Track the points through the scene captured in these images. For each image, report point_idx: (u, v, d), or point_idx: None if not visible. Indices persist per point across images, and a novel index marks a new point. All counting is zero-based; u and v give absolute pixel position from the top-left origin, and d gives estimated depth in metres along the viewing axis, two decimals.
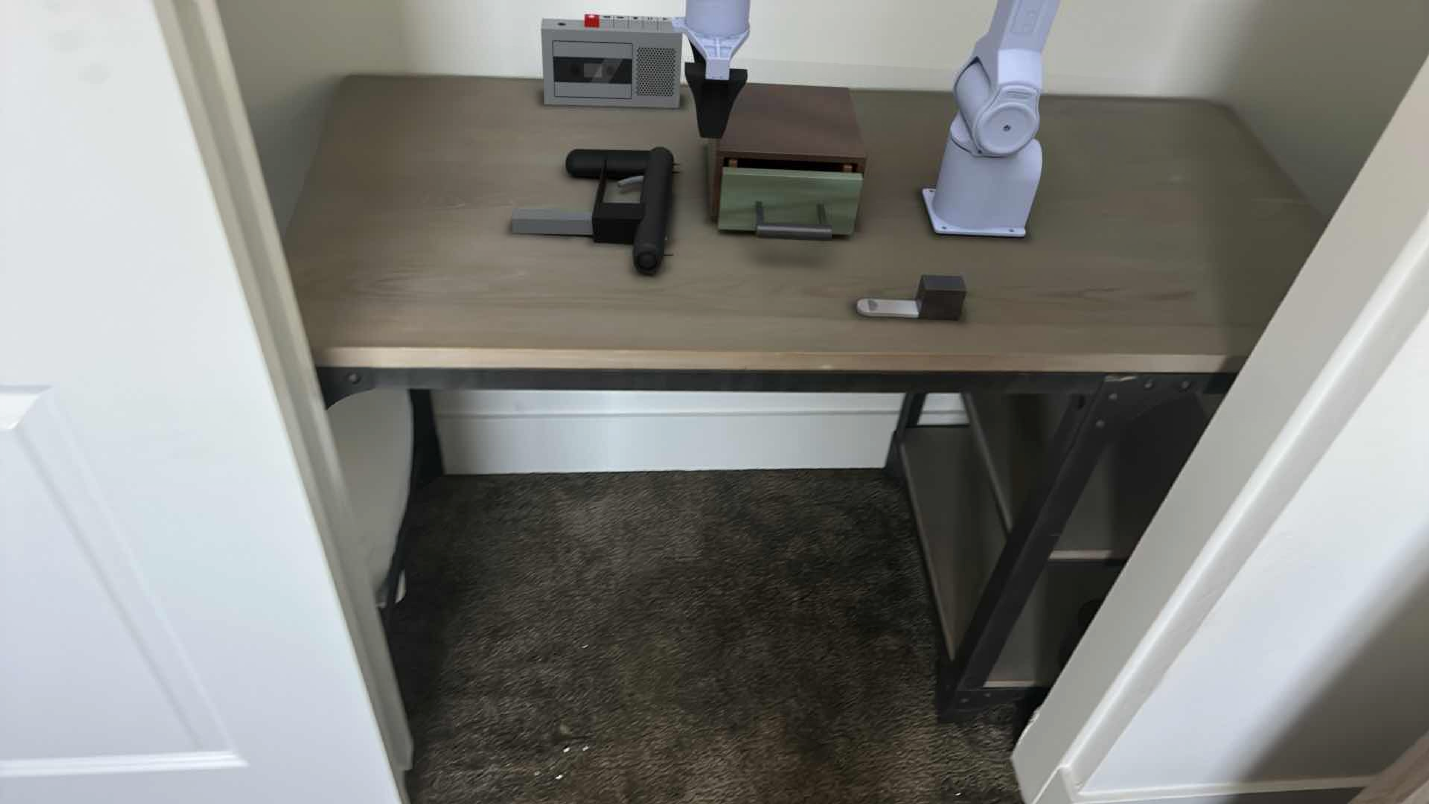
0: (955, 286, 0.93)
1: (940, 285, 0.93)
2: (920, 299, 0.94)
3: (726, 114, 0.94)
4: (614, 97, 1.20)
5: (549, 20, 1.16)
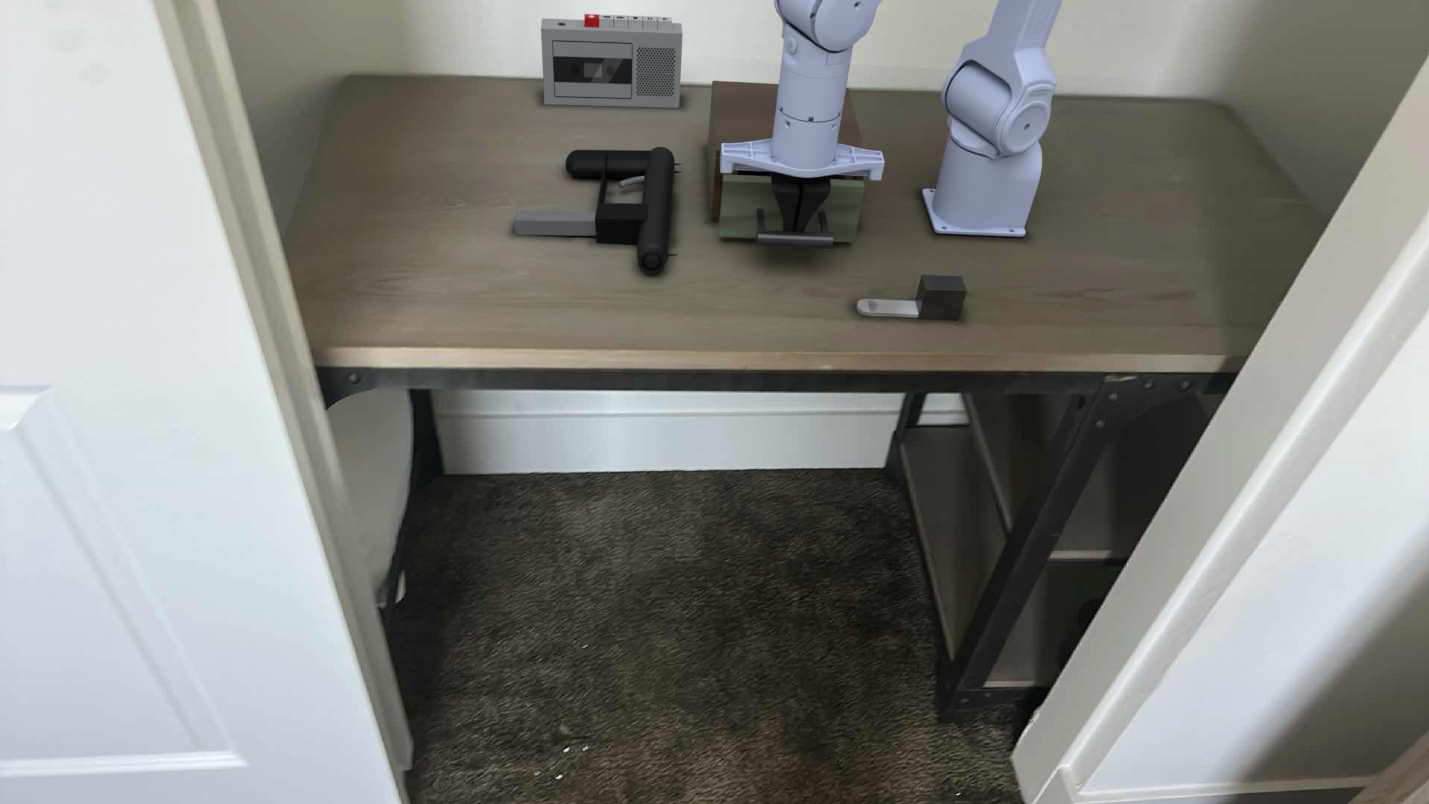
0: (955, 286, 0.93)
1: (940, 285, 0.93)
2: (920, 299, 0.94)
3: (783, 221, 0.95)
4: (614, 97, 1.20)
5: (548, 20, 1.16)
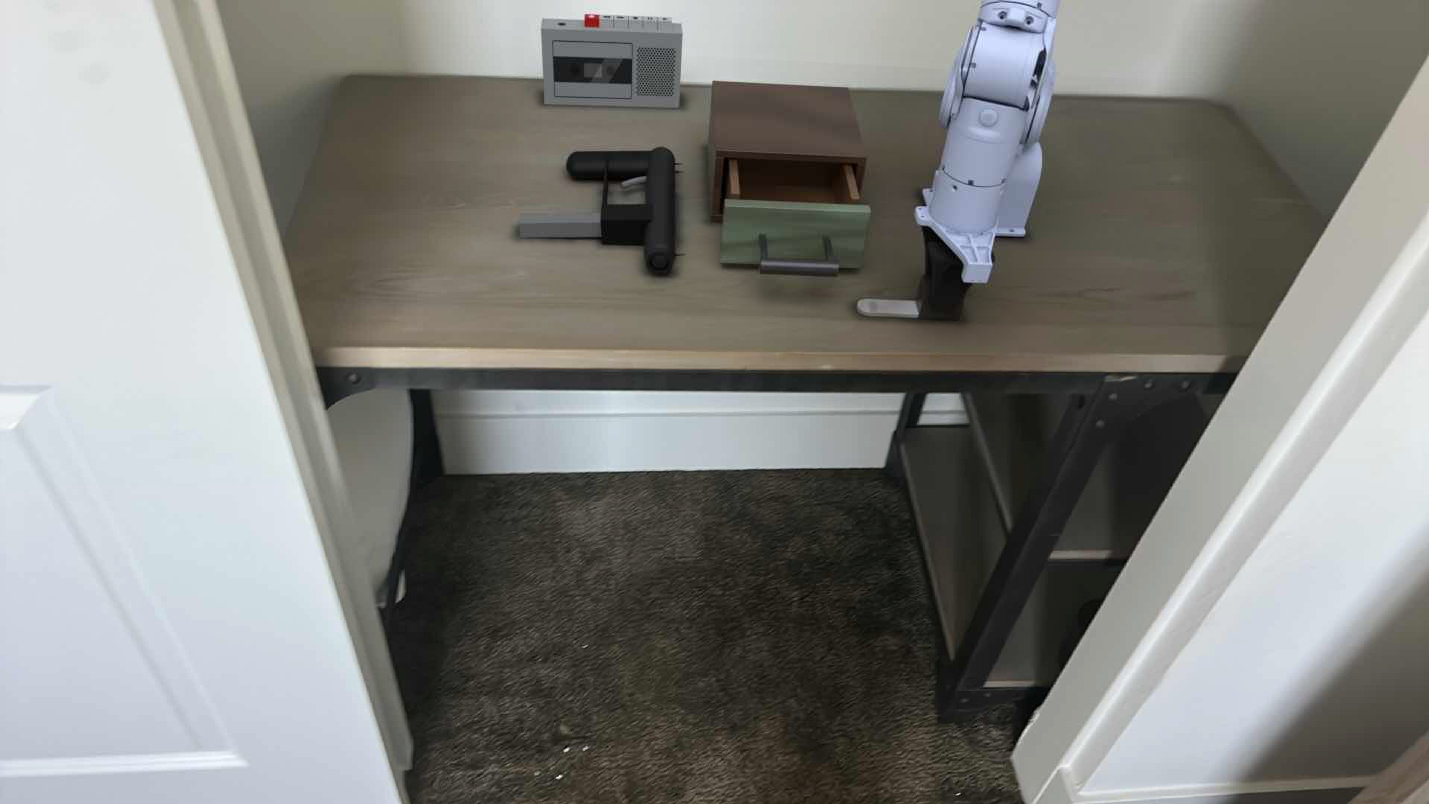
0: None
1: None
2: (920, 299, 0.94)
3: (964, 290, 0.92)
4: (614, 97, 1.20)
5: (549, 20, 1.16)
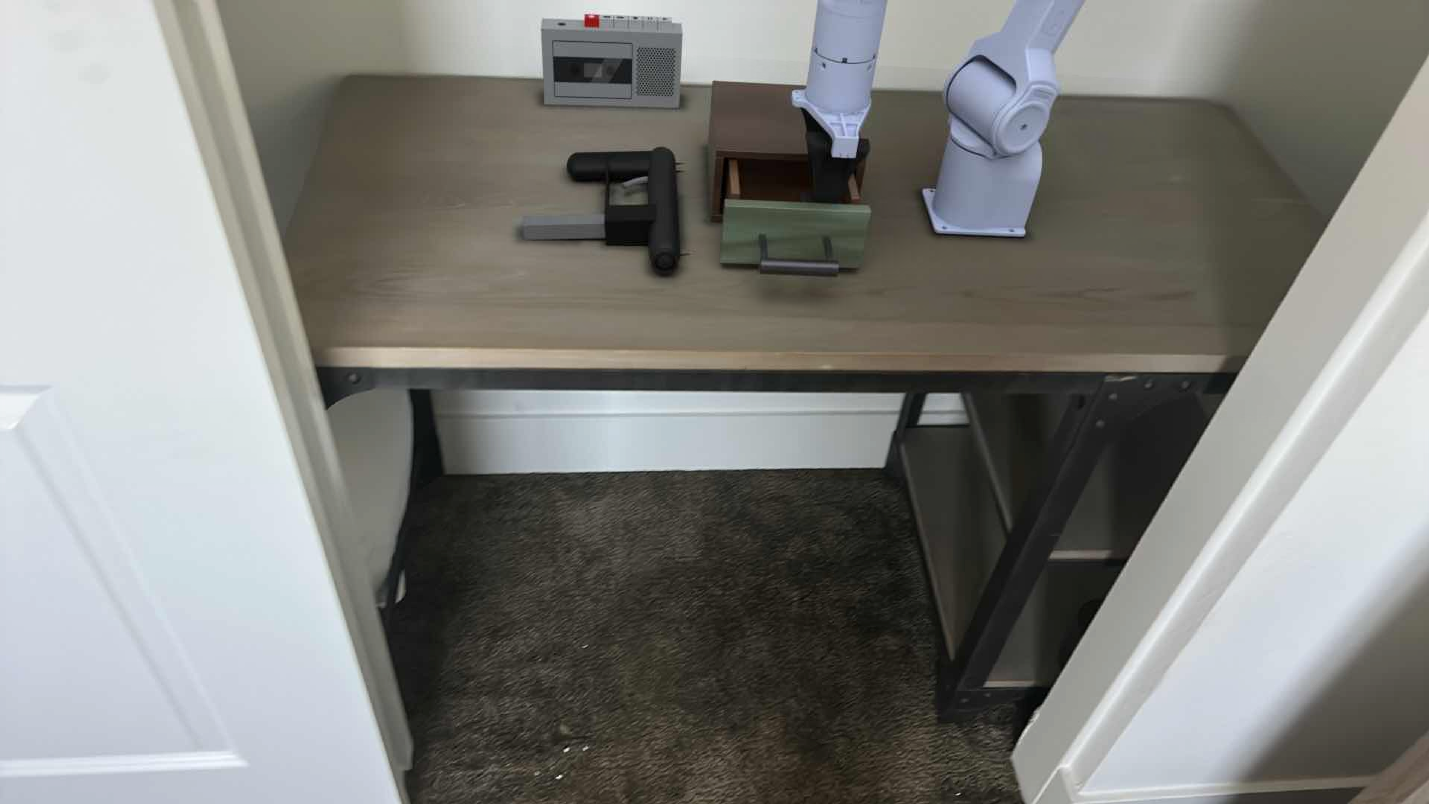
0: None
1: None
2: None
3: (844, 182, 0.94)
4: (614, 97, 1.20)
5: (548, 20, 1.16)
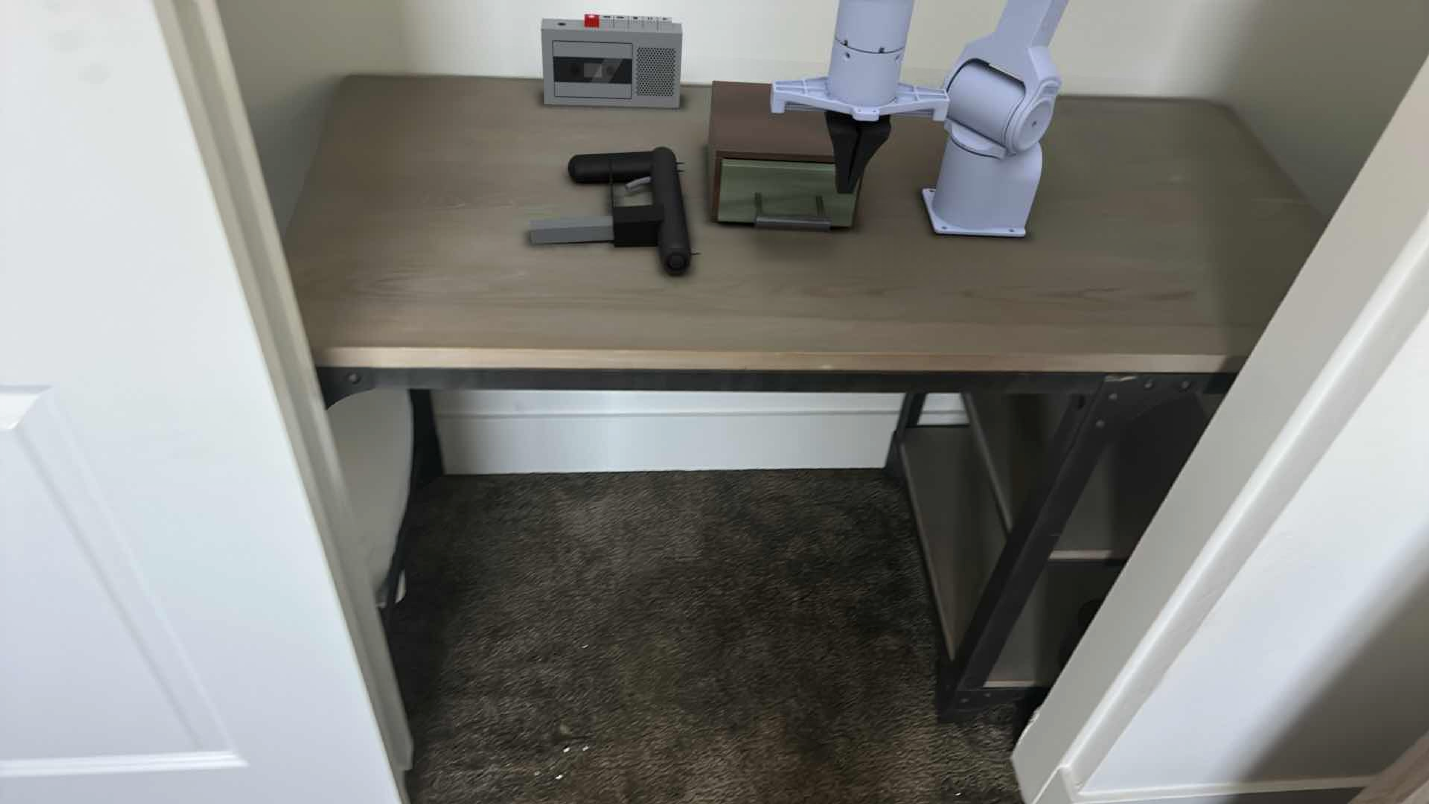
0: (822, 163, 1.04)
1: (809, 162, 1.04)
2: None
3: None
4: (614, 97, 1.20)
5: (548, 20, 1.16)
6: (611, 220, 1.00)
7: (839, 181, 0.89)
